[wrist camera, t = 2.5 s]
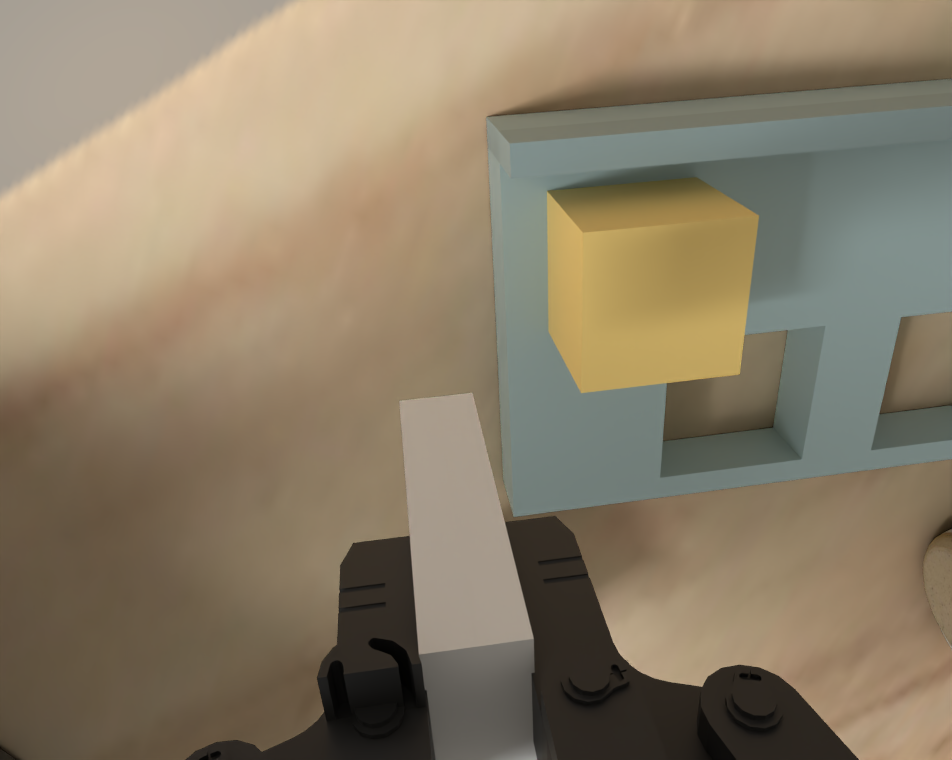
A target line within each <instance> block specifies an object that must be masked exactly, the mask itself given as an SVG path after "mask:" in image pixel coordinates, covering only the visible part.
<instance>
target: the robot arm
mask: <svg viewBox="0 0 952 760" xmlns="http://www.w3.org/2000/svg"><path fill="white" fill-rule="evenodd" d="M399 404H400V417H401V430H402V443H403V456H404V469H405V482H406V494H407V507H408V520H409V533H410V536H406V537H398V538H390V539H382V540H374V541H366V542H358V543H353V545H352V546H351V548H350V550H349V551H348V553H347V555H346V557H345V558H344V560H343V562H342V563H341V565H340V587H339V589H340V593H339V613H338V636H337V645H336V646H335V647H333V649H332V650H331V651H330V652H329V654H328V655H327V656H326V657H325V658H324V660H323V661H322V663H321V666H320V670H319V673H318V676H317V680H318V685H319V689H320V694H321V698H322V703H323V707H324V713H323V715H322V716H321V717H320V718H319V720H318V721H317V722H315V723H314V724H313V725H312V726H311V727H309V728H308V729H307V730H306V731H304V732H303V733H301V734H299V735H297V736H295V737H294V738H292V739H290V740H288V741H285V742H283V743H281V744H279V745H277V746H274V747H272V748H270V749H268V750H265V751H263V752H261V751H260V750H259V749H258V748H257V747H256V746H255V745H253V744H249V743H245V742H242V741H238V740H233V741H223V742H216V743H214V744H211V745H209V746H207V747H204V748H202V749H200V750H197V751H195V752H194V753H193V754H192V755H191V756H189V757H188V758H187V759H186V760H859V759H858V758H857V757H856V756H855V755H854V754H853V753H852V752H851V750H850V749H849V748H848V747H847V746H846V745H845V744H844V743H843V742H842V741H841V739H840V738H839V737H838V736H837V735H836V734H835V733H834V732H833V731H832V730H831V728H830V727H829V726H828V725H827V724H826V723H825V722H824V721H823V720H822V719H821V717H820V716H819V715H818V714H817V713H816V712H815V711H814V710H813V709H812V708H811V706H810V705H809V704H808V703H807V702H806V701H805V700H804V699H803V698H802V697H801V695H800V694H799V693H798V692H797V691H796V690H795V689H794V688H793V687H791V686H790V685H789V684H788V683H787V682H785V681H784V680H783V679H782V678H780V677H779V676H777V675H775V674H773V673H771V672H768V671H766V670H764V669H761V668H759V667H752V666H744V665H735V666H730V667H724V668H721V669H719V670H718V671H716V672H715V673H713V674H711V675H710V676H708V677H707V679H706V681H705V683H704V685H703V687H699V686H692V685H685V684H678V683H671V682H666V681H662V680H658V679H654V678H652V677H650V676H647V675H645V674H643V673H641V672H639V671H638V670H636V669H635V668H633V667H632V666H631V665H629V663H628V662H627V661H626V660H624V659H623V658H622V656H621V655H620V654H619V653H618V651H617V649H616V647H615V645H614V643H613V641H612V638H611V635H610V632H609V630H608V627H607V624H606V621H605V619H604V616H603V613H602V610H601V608H600V605H599V602H598V599H597V597H596V594H595V591H594V588H593V586H592V583H591V580H590V578H589V577H588V572H587V569H586V566H585V564H584V561H583V560H582V555H581V553H580V550H579V547H578V544H577V542H576V539H575V536H574V534H573V533H572V532H571V531H570V530H569V529H568V528H567V527H566V526H565V525H564V524H563V523H562V522H561V521H560V520H559V519H558V518H556V517H555V516H552V517H544V518H536V519H528V520H520V521H512V522H505V521H504V517H503V513H502V509H501V505H500V501H499V497H498V493H497V489H496V485H495V481H494V477H493V473H492V469H491V465H490V461H489V457H488V453H487V449H486V445H485V441H484V437H483V433H482V429H481V425H480V420H479V416H478V412H477V408H476V404H475V400H474V396H473V393H465V394H456V395H446V396H437V397H428V398H419V399H410V400H401V401H399ZM0 760H15V759H14V758H13V757H11V756H10V755H9V754H7V753H6V752H4V751H3V750H1V749H0Z"/></svg>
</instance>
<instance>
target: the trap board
mask: <svg viewBox="0 0 952 760" xmlns="http://www.w3.org/2000/svg"><path fill="white" fill-rule="evenodd" d="M486 121H487V143H488V164H489V186H490V207H491V229H492V250H493V272H494V293H495V314H496V336H497V357H498V379H499V400H500V422H501V443H502V465H503V482H504V485H505V489H506V492H507V495H508V499H509V502H510V506H511V509H512V513H513V516H514V517H518V516H525V515H533V514H540V513H548V512H556V511H563V510H571V509H578V508H586V507H593V506H601V505H608V504H616V503H624V502H631V501H639V500H646V499H654V498H661V497H669V496H677V495H684V494H692V493H699V492H707V491H714V490H722V489H729V488H737V487H745V486H752V485H760V484H767V483H775V482H782V481H790V480H798V479H805V478H813V477H820V476H828V475H835V474H843V473H850V472H858V471H866V470H873V469H881V468H888V467H896V466H903V465H911V464H919V463H926V462H934V461H941V460H949V459H952V405H950V406H942V407H934V408H926V409H918V410H910V411H902V412H894V413H886V414H879V413H880V409H881V404H882V400H883V395H884V391H885V386H886V382H887V378H888V373H889V369H890V364H891V360H892V356H893V351H894V347H895V342H896V338H897V334H898V329H899V325H900V320H901V317H908V316H917V315H926V314H935V313H943V312H952V79H941V80H929V81H917V82H905V83H893V84H880V85H868V86H856V87H844V88H832V89H819V90H807V91H795V92H783V93H771V94H759V95H746V96H734V97H722V98H710V99H698V100H685V101H673V102H661V103H649V104H637V105H624V106H612V107H600V108H588V109H576V110H564V111H551V112H539V113H527V114H515V115H503V116H490V117H486ZM692 177H697V178H699V179H700V180H702V181H704V182H705V183H707V184H708V185H710V186H712V187H713V188H715V189H717V190H718V191H720V192H721V193H723V194H725V195H726V196H728V197H730V198H731V199H733V200H734V201H736V202H738V203H739V204H741V205H743V206H744V207H746V208H747V209H749V210H751V211H752V212H754V213H756V214H757V215H759V221H758V229H757V237H756V245H755V253H754V261H753V270H752V278H751V286H750V294H749V302H748V310H747V319H746V327H745V335H748V334H757V333H766V332H775V331H784V330H788V332H787V339H786V345H785V352H784V359H783V365H782V372H781V378H780V385H779V391H778V398H777V405H776V411H775V418H774V424H773V428H766V429H758V430H750V431H742V432H734V433H726V434H718V435H710V436H702V437H694V438H686V439H678V440H670V441H663V431H664V417H665V403H666V389H667V383H663V384H655V385H646V386H638V387H630V388H621V389H613V390H604V391H596V392H587V393H581V392H580V390H579V388H578V386H577V384H576V383H575V381H574V379H573V377H572V375H571V373H570V371H569V369H568V368H567V366H566V364H565V362H564V360H563V358H562V356H561V354H560V352H559V351H558V349H557V347H556V345H555V343H554V341H553V339H552V337H551V336H550V334H549V332H548V244H547V191H550V190H561V189H572V188H583V187H594V186H605V185H616V184H627V183H637V182H648V181H659V180H670V179H681V178H692Z"/></svg>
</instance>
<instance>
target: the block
mask: <svg viewBox="0 0 952 760" xmlns="http://www.w3.org/2000/svg"><path fill="white" fill-rule="evenodd" d="M758 221H759V215H757V214H756V213H754V212H752V211H751V210H749V209H747V208H746V207H744V206H743V205H741V204H739V203H738V202H736V201H734V200H733V199H731V198H730V197H728V196H726V195H725V194H723V193H721V192H720V191H718V190H717V189H715V188H713V187H712V186H710V185H708V184H707V183H705V182H704V181H702V180H700V179H699V178H697V177H692V178H681V179H670V180H659V181H648V182H637V183H627V184H616V185H605V186H594V187H583V188H572V189H561V190H550V191H547V244H548V332H549V334H550V336H551V337H552V339H553V341H554V343H555V345H556V347H557V349H558V351H559V352H560V354H561V356H562V358H563V360H564V362H565V364H566V366H567V368H568V369H569V371H570V373H571V375H572V377H573V379H574V381H575V383H576V384H577V386H578V388H579V390H580V392H581V393H587V392H596V391H604V390H613V389H621V388H630V387H638V386H646V385H655V384H663V383H672V382H680V381H689V380H697V379H706V378H714V377H723V376H731V375H740V367H741V359H742V351H743V343H744V335H745V327H746V319H747V310H748V302H749V294H750V286H751V278H752V270H753V261H754V253H755V245H756V237H757V229H758Z"/></svg>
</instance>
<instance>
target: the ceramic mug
mask: <svg viewBox="0 0 952 760" xmlns="http://www.w3.org/2000/svg"><path fill="white" fill-rule="evenodd" d="M923 579H924V587H925V591H926V595H927V598H928V602H929V604H930V607H931V610H932V612H933V615H934V617H935V619H936V621H937V623H938V625H939V626H940V629H941V631H942V633H943V635H944V637H945V639H946V641H947V642H948V644H949V646H950V647H951V649H952V529H951V530H948V531H946V532H944V533H942V534H941V535H939V536H937V537H936V538H935V539H934V540H933V541H932V542H931V544H930V545H929V546H928V549H927V551H926V554H925V557H924V562H923Z"/></svg>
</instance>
